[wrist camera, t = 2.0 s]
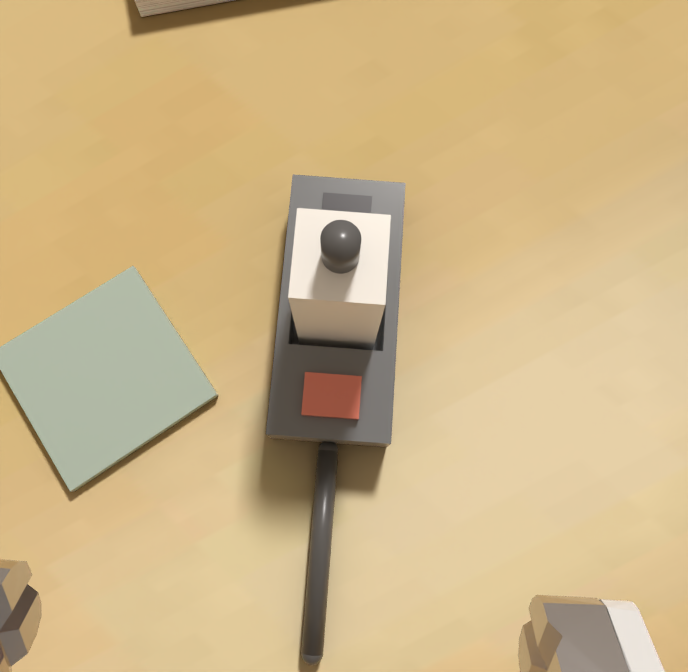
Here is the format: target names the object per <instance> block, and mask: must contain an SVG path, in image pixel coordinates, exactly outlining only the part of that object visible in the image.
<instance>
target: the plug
mask: <svg viewBox="0 0 688 672" xmlns="http://www.w3.org/2000/svg"><path fill="white" fill-rule="evenodd" d="M390 222H391V215H385V214H372V213H359V212H345V211H332V210H319V209H305V208H297V214H296V224H295V234H294V244H293V254H292V264H291V274H290V283H289V293H288V299H289V303H290V307H291V311H292V315H293V319H294V323H295V327H296V331H297V335H298V339H299V344H300V345H309V346H323V347H336V348H349V349H362V350H373V347H374V344H375V340H376V337H377V333H378V330H379V326H380V323H381V319H382V316H383V312H384V308H385V305H386V288H387V272H388V255H389V239H390Z"/></svg>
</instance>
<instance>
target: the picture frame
mask: <svg viewBox="0 0 688 672" xmlns="http://www.w3.org/2000/svg"><path fill="white" fill-rule="evenodd" d="M134 1H135V3H136V6H137V8H138V11H139V13H140V15H141V17H144V16H150V15H155V14H161V13H167V12H172V11H178V10H183V9H189V8H194V7H200V6H206V5H211V4H217V3H222V2H228V1H234V0H134Z"/></svg>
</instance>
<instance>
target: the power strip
mask: <svg viewBox="0 0 688 672" xmlns="http://www.w3.org/2000/svg"><path fill="white" fill-rule="evenodd" d="M404 199H405V183H399V182H385V181H372V180H359V179H345V178H332V177H318V176H305V175H293V178H292V187H291V197H290V206H289V216H288V226H287V235H286V245H285V255H284V264H283V274H282V284H281V293H280V303H279V312H278V322H277V332H276V341H275V351H274V361H273V370H272V380H271V389H270V399H269V409H268V418H267V428H266V435H267V436H269V437H270V438H273V439H287V440H300V441H313V442H322V443H321V444H320V445H319V448H318V457H317V469H316V481H315V493H314V505H313V517H312V529H311V541H310V553H309V565H308V577H307V589H306V601H305V613H304V625H303V637H302V649H301V656H302V659H303V661H304V662H305V663H306V664H308V665H315V664H317V663H319V662H320V660H321V659H322V656H323V647H324V633H325V620H326V607H327V593H328V580H329V567H330V554H331V540H332V527H333V514H334V501H335V487H336V474H337V461H338V447H337V445H336V444H335V443H339V444H352V445H365V446H378V447H387V446H389V445H390V444H391V435H392V417H393V399H394V380H395V362H396V344H397V326H398V308H399V290H400V272H401V254H402V235H403V217H404ZM297 208H305V209H319V210H332V211H345V212H359V213H372V214H385V215H391V222H390V239H389V255H388V272H387V288H386V305H385V308H384V312H383V316H382V319H381V323H380V326H379V330H378V333H377V337H376V340H375V344H374V347H373V350H362V349H349V348H336V347H323V346H309V345H300V344H299V339H298V335H297V331H296V327H295V323H294V319H293V315H292V311H291V307H290V303H289V299H288V293H289V283H290V274H291V264H292V254H293V244H294V234H295V224H296V214H297Z"/></svg>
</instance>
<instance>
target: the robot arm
mask: <svg viewBox="0 0 688 672" xmlns="http://www.w3.org/2000/svg"><path fill="white" fill-rule="evenodd" d="M31 576H32V573H31V570H30V568H29V566H28V563H27V561H15V560H3V559H0V672H12V669H11V666H12V665H14V664H15V663H16V662H17V661H19V660H20V659H21V658H23V657H24V656H25V655H26V654H28V652H29V650H30V648H31V646H32V644H33V642H34V639H35V637H36V635H37V631H38V627H39V623H40V619H41V600H40V597H39V593H38V592H37V591H36V590H34V589H33V588H32V587H30V586H29V585H28V582H29V580H30V578H31ZM529 612H530V616H531V621H529V622H528V623H526V624H525V625H523V627H522V631H521V634H520V638H519V653H518V657H519V667H520V672H665V670H664V668H663V666H662V663H661V661H660V659H659V656H658V654H657V651H656V649H655V647H654V644H653V642H652V640H651V637H650V635H649V632H648V630H647V628H646V625H645V623H644V621H643V618H642V616H641V613H640V611H639V609H638V607H637V606H636V605H635V604H634V603H633V602H631V601H624V600H601V599H597V598H586V597H567V596H547V595H536V596H535V597H534V598H532V601H531V603H530V606H529Z"/></svg>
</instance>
